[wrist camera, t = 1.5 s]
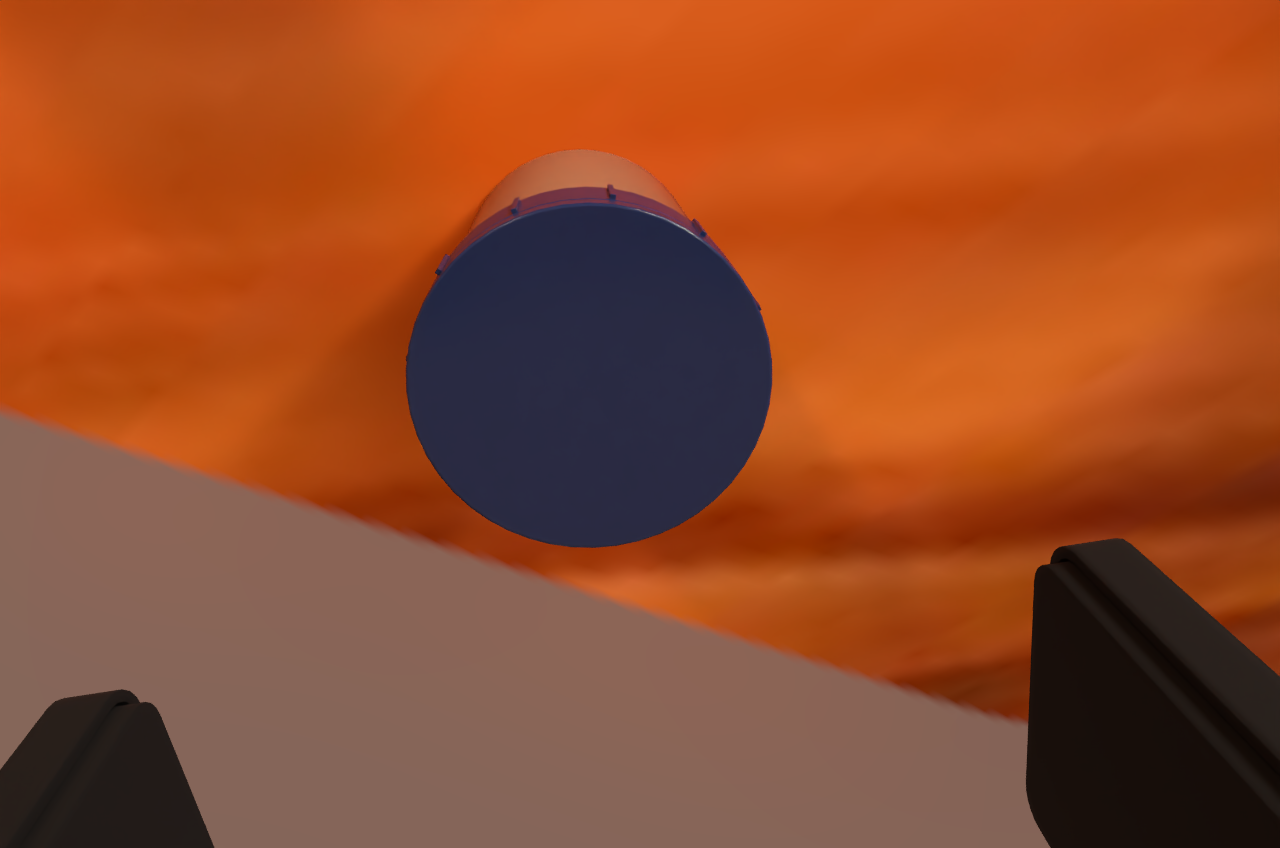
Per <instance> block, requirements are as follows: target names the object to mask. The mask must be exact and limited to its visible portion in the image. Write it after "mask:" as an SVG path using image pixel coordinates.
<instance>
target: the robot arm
mask: <svg viewBox="0 0 1280 848" xmlns="http://www.w3.org/2000/svg"><path fill="white" fill-rule="evenodd" d="M1026 791H1027V797H1028V802H1029V805H1030V809H1031V812H1032V814H1033V817H1034V819H1035V821H1036V823H1037V825H1038V827H1039V829H1040V831H1041V832H1042V834H1043V836H1044V837H1045V839H1046V841H1047V842H1048V844H1049V846H1050V847H1051V848H1280V677H1279V676H1278V675H1277V674H1276V673H1275V672H1274V671H1273V670H1272V669H1271V668H1269V667H1268V666H1267V665H1266V664H1265V663H1264V662H1263V661H1262V660H1260V659H1259V658H1258V657H1257V656H1256V655H1255V654H1254V653H1253V652H1251V651H1250V650H1249V649H1248V648H1247V647H1246V646H1245V645H1244V644H1243V643H1241V642H1240V641H1239V640H1238V639H1237V638H1236V637H1235V636H1234V635H1232V634H1231V633H1230V632H1229V631H1228V630H1227V629H1226V628H1225V627H1223V626H1222V625H1221V624H1220V623H1219V622H1218V621H1217V620H1216V619H1214V618H1213V617H1212V616H1211V615H1210V614H1209V613H1208V612H1207V611H1206V610H1204V609H1203V608H1202V607H1201V606H1200V605H1199V604H1198V603H1197V602H1195V601H1194V600H1193V599H1192V598H1191V597H1190V596H1189V595H1188V594H1186V593H1185V592H1184V591H1183V590H1182V589H1181V588H1180V587H1179V586H1178V585H1176V584H1175V583H1174V582H1173V581H1172V580H1171V579H1170V578H1169V577H1167V576H1166V575H1165V574H1164V573H1163V572H1162V571H1161V570H1160V569H1158V568H1157V567H1156V566H1155V565H1154V564H1153V563H1152V562H1151V561H1150V560H1148V559H1147V558H1146V557H1145V556H1144V555H1143V554H1142V553H1141V552H1139V551H1138V550H1137V549H1136V548H1135V547H1134V546H1133V545H1132V544H1130V543H1129V542H1127V541H1125V540H1124V539H1118V538H1114V539H1108V540H1101V541H1095V542H1088V543H1082V544H1075V545H1068V546H1062V547H1059V548H1057V549H1056V550H1055V551H1054V553H1053V555H1052V557H1051V562H1050V564H1048V565H1042V566H1040V567H1039V568H1038V569H1037V571H1036V573H1035V580H1034V600H1033V624H1032V648H1031V673H1030V697H1029V721H1028V745H1027V770H1026ZM0 848H214V846H213V843H212V841H211V838H210V836H209V833H208V831H207V829H206V826H205V824H204V821H203V819H202V816H201V814H200V811H199V809H198V806H197V804H196V801H195V799H194V797H193V794H192V792H191V789H190V787H189V784H188V782H187V779H186V777H185V774H184V772H183V770H182V767H181V765H180V762H179V760H178V757H177V755H176V752H175V750H174V747H173V745H172V743H171V740H170V738H169V735H168V733H167V730H166V728H165V725H164V723H163V720H162V718H161V716H160V714H159V712H158V710H157V708H156V707H155V706H154V705H153V704H151V703H148V702H143V703H140V702H139V700H138V699H137V697H136V696H135V695H134V694H133V693H131V692H130V691H127V690H115V691H109V692H103V693H96V694H89V695H82V696H76V697H69V698H64V699H61V700H58V701H55V702H54V703H53V704H52V705H51V706H50V707H49V708H48V709H47V710H46V711H45V712H44V714H43V715H42V716H41V718H40V719H39V720H38V721H37V723H36V724H35V725H34V727H33V728H32V729H31V731H30V732H29V733H28V734H27V736H26V737H25V739H24V740H23V741H22V742H21V744H20V745H19V746H18V748H17V749H16V750H15V751H14V753H13V754H12V756H11V757H10V758H9V759H8V761H7V762H6V763H5V764H4V766H3V767H2V768H1V770H0Z"/></svg>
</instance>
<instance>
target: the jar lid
mask: <svg viewBox="0 0 1280 848" xmlns="http://www.w3.org/2000/svg"><path fill="white" fill-rule="evenodd" d="M435 273H436V274H437V277H436V279H435V281H434V283H433V285H432V287H431V289H430V290H429V292H428V294H427V296H426V298H425V300H424V302H423V304H422V307H421V309H420V311H419V314H418V316H417V319H416V321H415V323H414V327H413V331H412V335H411V339H410V342H409V347H408V354H407V356H406V361H407V364H406V392H407V398H408V404H409V410H410V415H411V418H412V421H413V424H414V428H415V431H416V434H417V437H418V439H419V441H420V443H421V445H422V447H423V449H424V451H425V454H426V456H427V457H428V459H429V460H430V462H431V463H432V465H433V467H434V468H435V470H436V471H437V473H438V474H439V476H440V477H441V478H442V479H443V480H444V481H445V483H446V484H447V485H448V486H449V487H450V488H451V490H452V491H453V492H454V493H455V494H456V495H457V496H459V497H460V498H461V499H462V500H463V501H464V502H465V503H466V504H467V505H468V506H470V507H471V508H472V509H474V510H475V511H476V512H478V513H479V514H481V515H482V516H484V517H485V518H486V519H488V520H490V521H491V522H493V523H495V524H497V525H499V526H501V527H503V528H504V529H506V530H508V531H511V532H513V533H516V534H519V535H521V536H524V537H526V538H529V539H533V540H537V541H540V542H544V543H548V544H554V545H561V546H568V547H590V548H596V547H607V546H617V545H622V544H627V543H631V542H636V541H640V540H643V539H646V538H649V537H652V536H655V535H658V534H661V533H663V532H665V531H667V530H669V529H671V528H673V527H676V526H678V525H680V524H681V523H683V522H685V521H686V520H688V519H689V518H691V517H693V516H694V515H696V514H697V513H699V512H700V511H701V510H703V509H704V508H705V507H706V506H708V505H709V504H710V503H711V502H713V501H714V500H715V499H716V498H717V497H718V496H719V495H720V494H721V493H722V492H723V491H724V490H725V489H726V488H727V487H728V486H729V485H730V484H731V483H732V481H733V480H734V479H735V477H736V476H737V475H738V473H739V472H740V471H741V469H742V468H743V467H744V465H745V464H746V462H747V460H748V458H749V457H750V455H751V453H752V451H753V450H754V448H755V446H756V444H757V441H758V439H759V436H760V434H761V432H762V429H763V427H764V423H765V420H766V416H767V412H768V408H769V404H770V396H771V388H772V358H771V351H770V344H769V338H768V335H767V331H766V328H765V325H764V321H763V318H762V315H761V313H760V310H761V308H760V305H759V304H758V302H757V301H756V300H755V298H754V297H753V296H752V294H751V292H750V291H749V289H748V288H747V286H746V284H745V283H744V281H743V280H742V278H741V277H740V275H739V274H738V272H737V271H736V270H735V268H734V267H733V266H732V264H731V263H730V262H729V260H728V259H727V258H726V256H725V255H724V254H723V252H722V251H721V250H720V249H719V248H718V246H717V245H716V244H715V243H714V242H713V241H712V239H711V238H710V237H709V236H708V235H707V233H706V232H705V230H704V229H703V228H702V226H701V225H700V223H699V222H698V221H697V220H696V219H693V220H692V221H690V220H689V219H687V218H686V217H684V216H683V215H681V214H680V213H678V212H677V211H676V210H674V209H672V208H670V207H668V206H666V205H664V204H662V203H660V202H658V201H656V200H653V199H651V198H648V197H645V196H642V195H639V194H636V193H633V192H628V191H623V190H618V189H614V187H613V185H612V184H607V188H603V187H573V188H562V189H557V190H552V191H548V192H543V193H539V194H536V195H533V196H531V197H528V198H525V199H522V200H520V198H519V197H517V198H514V200H513V203H512V204H511V205H509V206H507V207H505V208H503V209H502V210H500V211H498V212H496V213H495V214H493V215H492V216H491V217H489V218H488V219H486V220H485V221H483V222H482V223H481V224H479V225H478V226H477V227H476V228H475V229H474V230H473V231H472V232H471V233H469V234H468V235H467V236H466V237H465V238H464V239H463V240H462V241H461V242H460V244H459V245H458V246H457V247H456V249H455V250H454V251H453V252H452V254H451V255H450V256H448V255H447V254H445V256H444V257H443V259H442V261H441V263H440V264H439V266H438V268H437V270H436V272H435Z"/></svg>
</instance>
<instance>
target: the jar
mask: <svg viewBox="0 0 1280 848" xmlns="http://www.w3.org/2000/svg"><path fill="white" fill-rule="evenodd" d="M607 184H612V185H613V187H614V189H618V190H623V191H628V192H633V193H636V194H639V195H642V196H645V197H648V198H651V199H653V200H656V201H658V202H660V203H662V204H664V205H666V206H668V207H670V208H672V209H674V210H676V211H677V212H678V213H680V214H681V215H683V216H684V217H686V218H687V219H689V218H688V217H687V215H686V214H685V212H684V211H683V210H682V208H681V207H680V205H679V204H678V202H677V201H676V199H675V198H674V196H673V195H672V194H671V193H670V192H669V191H668V189H667V188H666V187H665V186H664V185H663V184H662V183H661V182H660V181H659V180H658V179H657V178H656V177H655V176H653V175H652V174H651V173H649V172H648V171H647V170H645V169H644V168H642V167H641V166H639V165H637V164H635V163H633V162H631V161H629V160H627V159H625V158H622V157H619V156H616V155H614V154H611V153H606V152H601V151H596V150H581V149H579V150H565V151H560V152H555V153H550V154H547V155H544V156H541V157H538V158H536V159H533V160H531V161H529V162H527V163H526V164H524V165H522V166H520V167H518V168H517V169H516V170H514V171H513V172H511V173H510V174H509V175H507V176H506V177H505V178H504V179H503V180H502V181H501V182H500V183H499V184H498V185H497V186H496V187H495V188H494V189H493V191H492V192H491V193H490V194H489V195H488V197H487V198H486V200H485V201H484V203H483V205H482V206H481V208H480V210H479V211H478V213H477V215H476V218H475V220H474V222H473V224H472V226H471V228H470V230H469V232H468V234H469V233H471V232H472V231H473V230H474V229H475V228H476V227H477V226H478V225H479V224H481V223H482V222H483V221H485V220H486V219H488V218H489V217H491V216H492V215H493V214H495V213H496V212H498V211H500V210H502V209H503V208H505V207H507V206H509V205H511V204H512V203H513V200H514V198H517V197H519V198H520V200H522V199H525V198H528V197H531V196H533V195H536V194H539V193H543V192H548V191H552V190H557V189H562V188H573V187H603V188H607ZM468 234H467V235H468Z"/></svg>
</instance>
